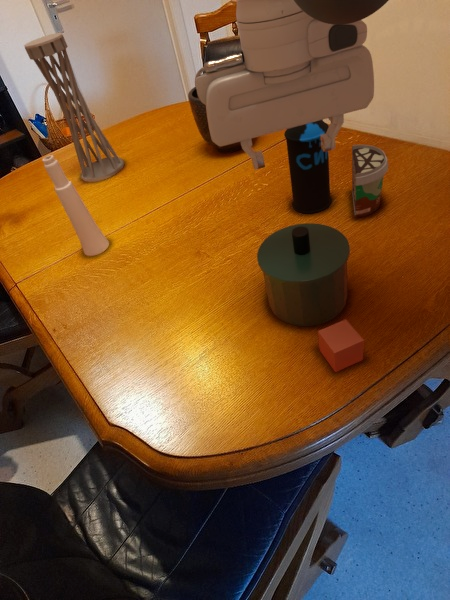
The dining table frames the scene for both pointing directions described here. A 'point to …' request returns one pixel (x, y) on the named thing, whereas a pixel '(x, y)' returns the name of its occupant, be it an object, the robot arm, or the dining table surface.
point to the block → (341, 345)
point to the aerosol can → (308, 167)
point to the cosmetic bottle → (76, 210)
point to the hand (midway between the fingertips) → (293, 158)
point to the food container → (367, 178)
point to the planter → (206, 123)
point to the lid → (303, 253)
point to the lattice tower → (101, 166)
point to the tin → (308, 299)
